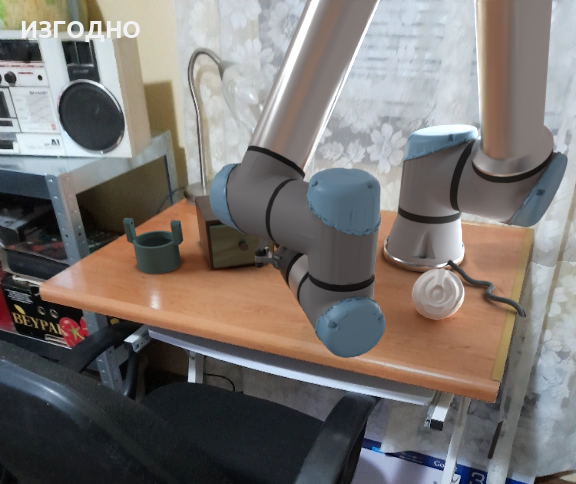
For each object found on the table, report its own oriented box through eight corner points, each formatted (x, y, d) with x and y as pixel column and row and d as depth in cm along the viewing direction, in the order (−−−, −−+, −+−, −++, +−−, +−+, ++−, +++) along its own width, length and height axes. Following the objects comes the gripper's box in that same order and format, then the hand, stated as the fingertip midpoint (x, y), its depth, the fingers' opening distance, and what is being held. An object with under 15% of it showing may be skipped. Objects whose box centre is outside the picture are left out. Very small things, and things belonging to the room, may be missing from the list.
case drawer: (274, 262, 100) (273, 222, 95) (215, 270, 98) (211, 230, 93) (258, 235, 111) (256, 198, 106) (204, 242, 108) (199, 204, 103)
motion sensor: (405, 323, 84) (411, 279, 79) (412, 300, 90) (419, 258, 85) (457, 331, 82) (466, 287, 77) (461, 307, 88) (470, 265, 83)
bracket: (189, 266, 102) (183, 221, 96) (143, 278, 98) (134, 231, 93) (172, 250, 108) (166, 207, 102) (129, 260, 104) (119, 216, 99)
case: (274, 261, 103) (273, 212, 97) (211, 270, 100) (205, 221, 94) (258, 234, 113) (256, 189, 107) (200, 242, 110) (194, 196, 105)
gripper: (268, 307, 71) (233, 239, 89) (358, 292, 74) (306, 229, 91) (265, 255, 66) (229, 194, 84) (361, 241, 69) (306, 185, 87)
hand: (269, 212), depth 88 cm, fingers closed
